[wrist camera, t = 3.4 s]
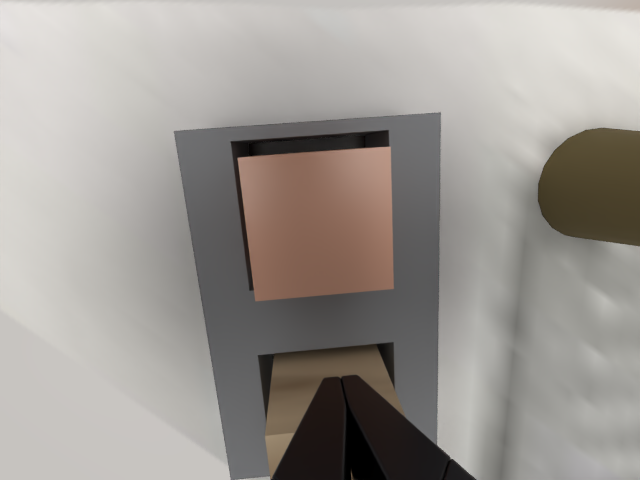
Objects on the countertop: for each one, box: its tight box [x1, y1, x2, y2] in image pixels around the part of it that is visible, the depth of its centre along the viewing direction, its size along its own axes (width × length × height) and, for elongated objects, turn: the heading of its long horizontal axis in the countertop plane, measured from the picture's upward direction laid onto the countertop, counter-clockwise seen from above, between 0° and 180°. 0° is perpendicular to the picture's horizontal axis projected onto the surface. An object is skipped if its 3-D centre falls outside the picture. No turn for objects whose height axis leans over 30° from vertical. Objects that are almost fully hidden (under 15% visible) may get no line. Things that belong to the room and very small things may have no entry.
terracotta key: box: [238, 147, 394, 301], centre depth 15 cm, size 5×5×6 cm
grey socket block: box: [174, 113, 441, 480], centre depth 18 cm, size 16×10×5 cm, turn 4°
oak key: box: [265, 344, 406, 480], centre depth 15 cm, size 5×5×6 cm
